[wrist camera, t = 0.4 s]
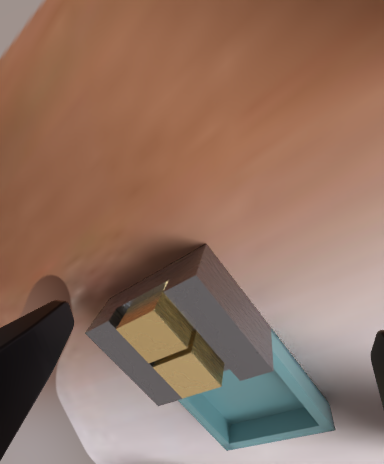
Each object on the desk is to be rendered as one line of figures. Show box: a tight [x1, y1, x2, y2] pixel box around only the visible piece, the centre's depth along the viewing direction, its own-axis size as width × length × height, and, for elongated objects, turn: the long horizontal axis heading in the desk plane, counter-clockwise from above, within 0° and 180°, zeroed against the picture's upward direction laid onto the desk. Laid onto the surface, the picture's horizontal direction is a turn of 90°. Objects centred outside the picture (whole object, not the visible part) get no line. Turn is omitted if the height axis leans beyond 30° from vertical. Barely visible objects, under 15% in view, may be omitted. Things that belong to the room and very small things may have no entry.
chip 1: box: [116, 290, 193, 363], centre depth 23 cm, size 4×4×2 cm
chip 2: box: [153, 330, 224, 399], centre depth 24 cm, size 4×4×2 cm
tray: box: [178, 329, 335, 451], centre depth 28 cm, size 11×12×2 cm
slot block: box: [85, 244, 274, 406], centre depth 25 cm, size 10×12×4 cm
